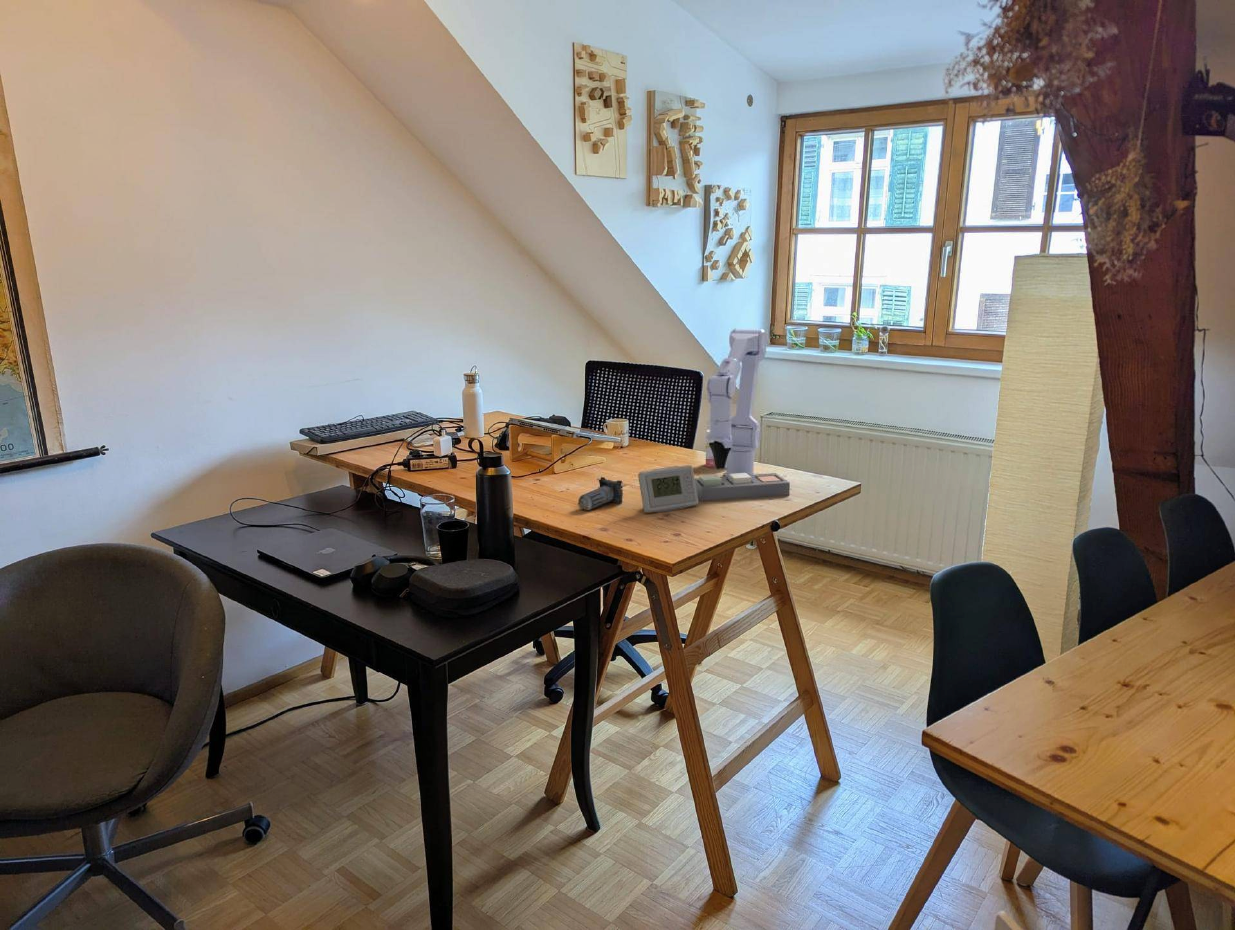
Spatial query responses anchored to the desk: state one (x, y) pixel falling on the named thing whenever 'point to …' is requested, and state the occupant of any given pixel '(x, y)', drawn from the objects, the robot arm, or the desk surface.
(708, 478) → the sage key
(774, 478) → the terracotta key
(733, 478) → the cream key
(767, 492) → the panel
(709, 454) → the ink cartridge box
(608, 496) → the ribbed flanged cylinder
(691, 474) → the digital clock
